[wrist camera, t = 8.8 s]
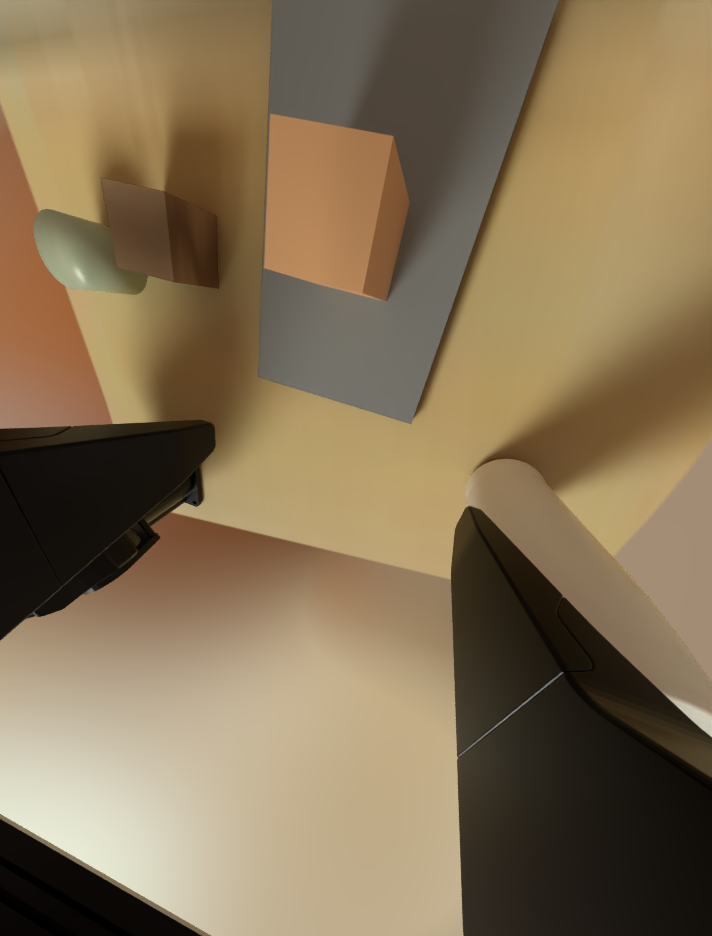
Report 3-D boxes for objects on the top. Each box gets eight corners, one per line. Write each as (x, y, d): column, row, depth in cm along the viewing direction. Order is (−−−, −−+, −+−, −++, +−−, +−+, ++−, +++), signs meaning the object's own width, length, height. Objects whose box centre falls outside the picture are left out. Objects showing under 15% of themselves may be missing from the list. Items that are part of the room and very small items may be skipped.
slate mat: (412, 419, 20) (411, 424, 20) (265, 374, 22) (258, 376, 21) (553, 12, 11) (563, -13, 10) (285, -21, 13) (274, -45, 12)
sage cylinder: (151, 300, 22) (96, 295, 18) (108, 288, 22) (47, 281, 19) (142, 235, 19) (78, 216, 16) (95, 223, 20) (24, 203, 17)
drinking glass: (549, 523, 21) (716, 827, 9) (456, 523, 23) (477, 766, 11) (558, 441, 19) (824, 710, 6) (451, 450, 21) (471, 659, 8)
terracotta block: (386, 301, 17) (362, 293, 11) (316, 284, 17) (264, 267, 12) (409, 202, 14) (393, 136, 9) (328, 185, 15) (270, 113, 10)
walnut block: (219, 288, 20) (173, 282, 16) (171, 276, 20) (117, 266, 17) (217, 216, 18) (163, 191, 14) (163, 204, 18) (100, 177, 15)
